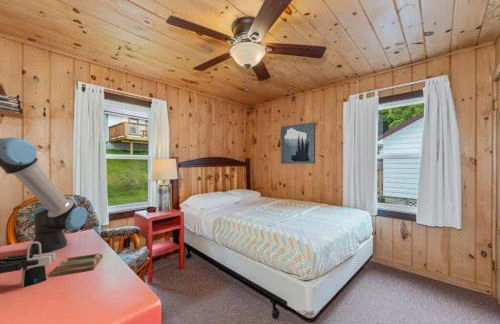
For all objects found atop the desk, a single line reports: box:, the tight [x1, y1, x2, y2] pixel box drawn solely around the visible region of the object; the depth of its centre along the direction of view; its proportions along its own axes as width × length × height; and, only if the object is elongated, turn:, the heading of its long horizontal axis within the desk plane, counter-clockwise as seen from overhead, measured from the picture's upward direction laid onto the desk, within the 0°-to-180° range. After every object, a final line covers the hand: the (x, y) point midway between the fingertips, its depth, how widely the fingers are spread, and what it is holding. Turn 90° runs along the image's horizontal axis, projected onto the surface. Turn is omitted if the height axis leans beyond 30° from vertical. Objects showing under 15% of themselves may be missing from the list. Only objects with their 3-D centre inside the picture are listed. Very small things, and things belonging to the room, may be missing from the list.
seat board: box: [51, 252, 103, 278], centre depth 99 cm, size 15×14×3 cm
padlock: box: [20, 241, 48, 288], centre depth 86 cm, size 7×4×15 cm, turn 140°
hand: (52, 257), depth 87 cm, fingers closed on padlock, 3 cm apart
